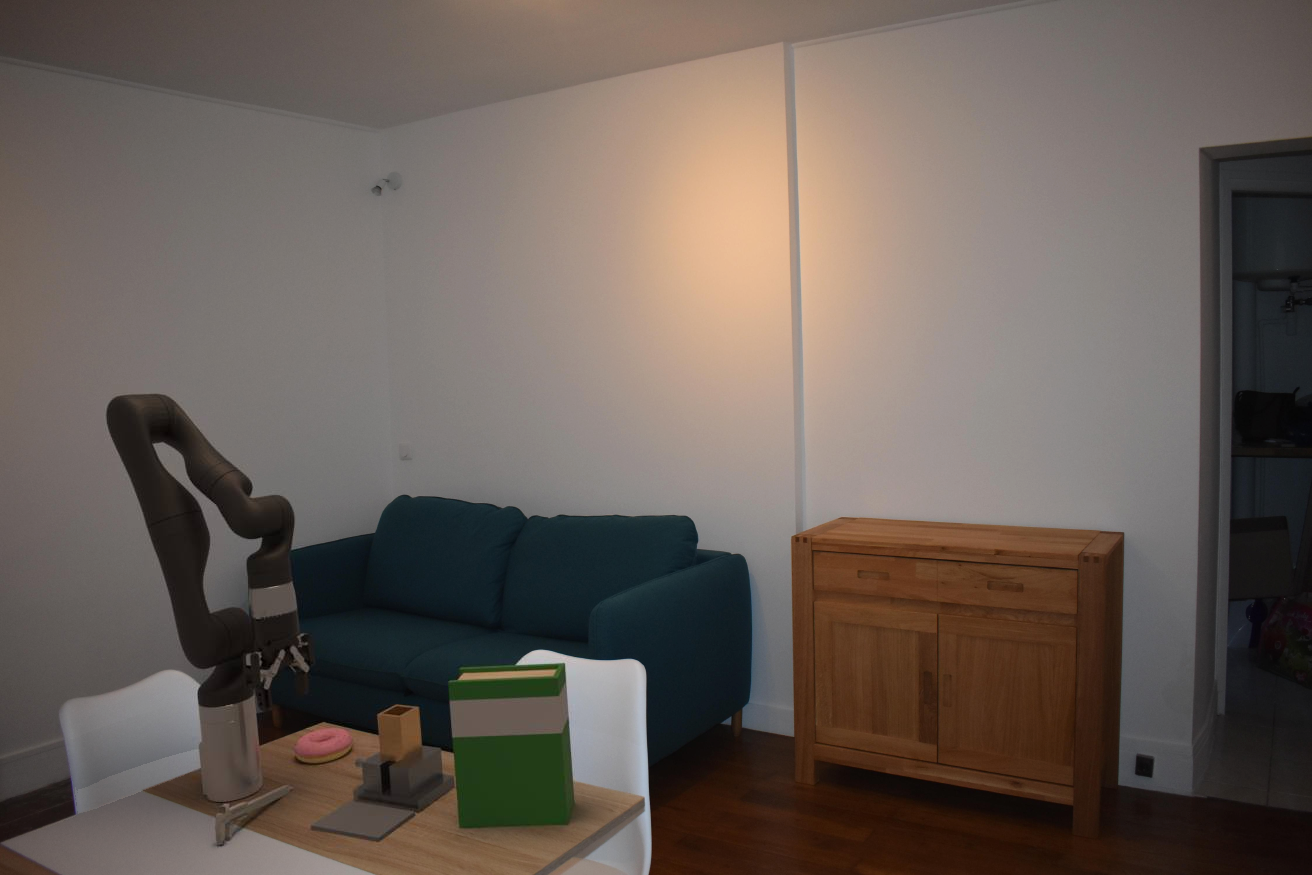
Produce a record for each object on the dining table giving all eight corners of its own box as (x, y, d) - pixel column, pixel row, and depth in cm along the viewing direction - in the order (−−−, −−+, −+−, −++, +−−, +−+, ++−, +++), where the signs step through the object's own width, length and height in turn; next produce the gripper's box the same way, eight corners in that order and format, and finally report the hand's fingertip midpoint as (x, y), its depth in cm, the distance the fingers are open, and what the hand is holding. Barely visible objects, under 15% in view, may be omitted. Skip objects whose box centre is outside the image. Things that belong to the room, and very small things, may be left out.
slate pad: (311, 828, 148) (310, 825, 148) (349, 803, 157) (349, 800, 157) (378, 841, 143) (378, 837, 143) (415, 814, 151) (414, 811, 151)
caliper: (222, 848, 144) (219, 809, 144) (216, 847, 145) (213, 809, 144) (293, 789, 164) (290, 755, 164) (288, 789, 165) (285, 755, 164)
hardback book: (459, 827, 146) (448, 682, 144) (471, 806, 153) (460, 667, 151) (567, 824, 145) (557, 677, 143) (574, 802, 152) (565, 662, 150)
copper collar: (380, 759, 158) (377, 714, 157) (399, 747, 162) (396, 704, 162) (403, 762, 156) (400, 717, 155) (422, 750, 160) (418, 706, 160)
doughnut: (320, 770, 172) (318, 749, 172) (282, 760, 178) (281, 740, 178) (365, 748, 182) (363, 728, 181) (328, 740, 187) (326, 720, 187)
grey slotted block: (340, 799, 159) (334, 726, 158) (379, 774, 168) (373, 706, 167) (419, 812, 152) (412, 736, 151) (454, 786, 161) (449, 715, 160)
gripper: (286, 601, 166) (297, 688, 166) (225, 620, 152) (236, 715, 153) (319, 600, 163) (330, 688, 163) (259, 620, 150) (271, 716, 150)
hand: (284, 701), depth 158 cm, fingers open, 8 cm apart
